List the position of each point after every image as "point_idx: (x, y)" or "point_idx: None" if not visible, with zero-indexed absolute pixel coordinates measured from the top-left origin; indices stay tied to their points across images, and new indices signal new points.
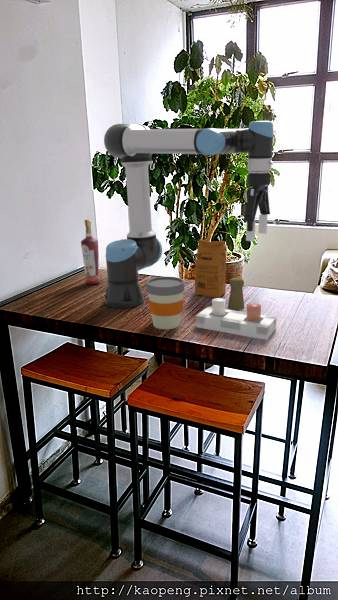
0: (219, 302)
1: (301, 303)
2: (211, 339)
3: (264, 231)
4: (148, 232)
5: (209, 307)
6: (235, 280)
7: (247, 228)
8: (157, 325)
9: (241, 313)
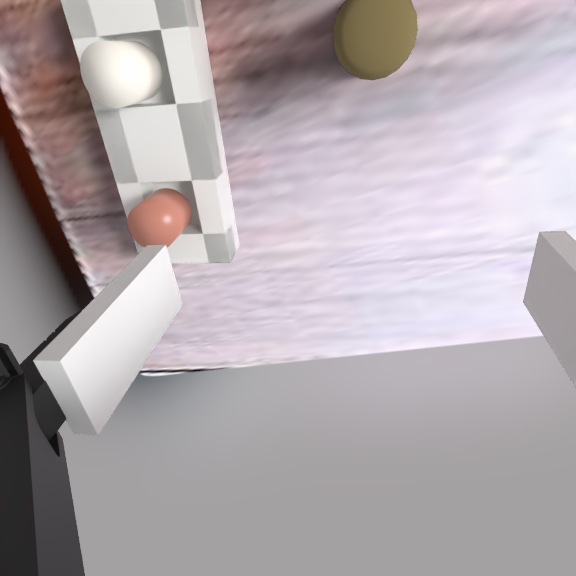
0: (90, 93)
1: (502, 256)
2: (53, 108)
3: (533, 300)
4: None
5: None
6: (343, 41)
7: (59, 328)
8: None
9: (192, 152)
